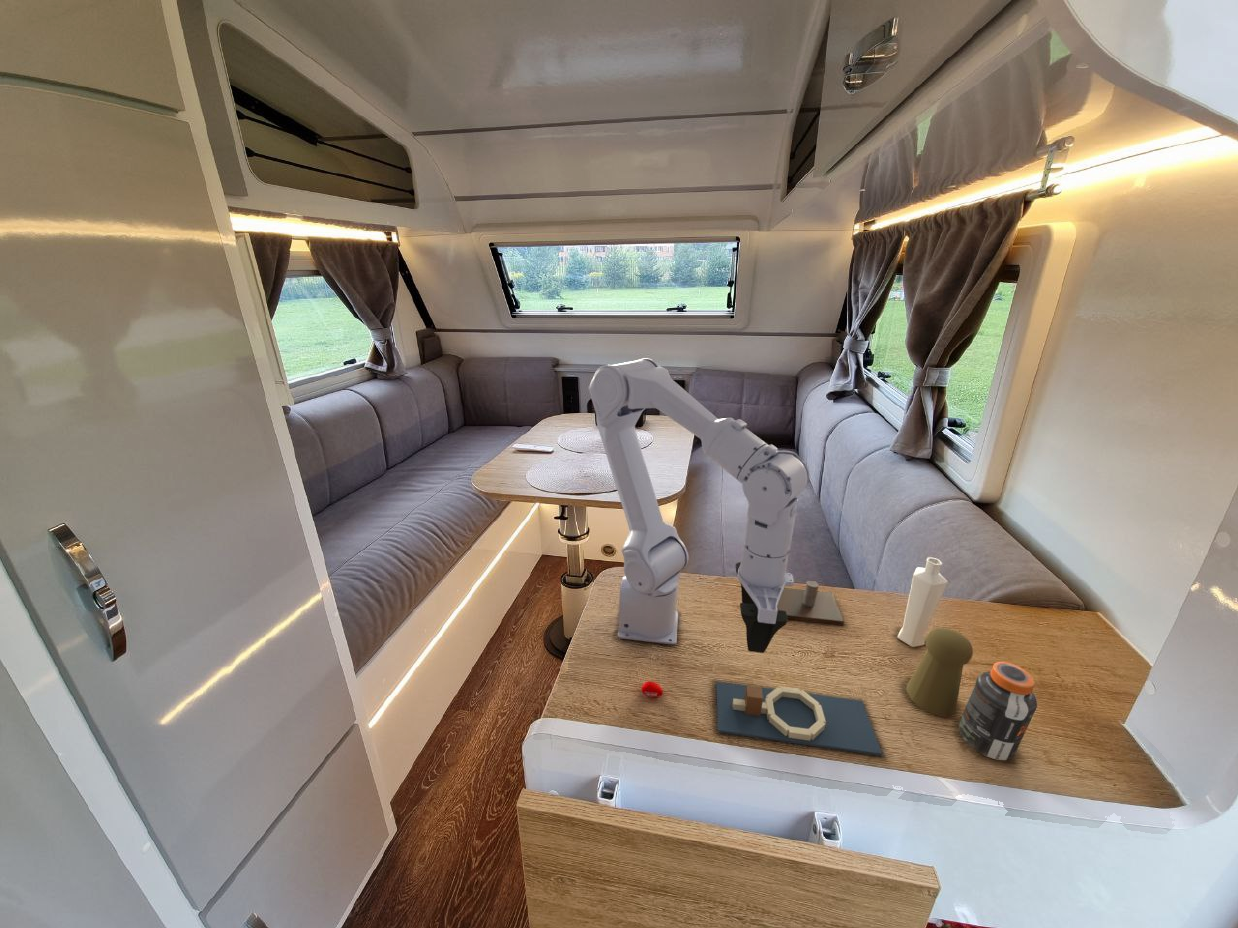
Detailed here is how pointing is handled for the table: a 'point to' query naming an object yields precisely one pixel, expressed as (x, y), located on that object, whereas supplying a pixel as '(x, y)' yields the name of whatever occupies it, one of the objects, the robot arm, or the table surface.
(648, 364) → the robot arm
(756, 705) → the octagonal ring with handle
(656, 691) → the candy
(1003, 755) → the pill bottle
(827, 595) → the peg stand
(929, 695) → the pepper shaker
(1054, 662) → the table surface
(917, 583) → the perfume bottle
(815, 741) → the mat
